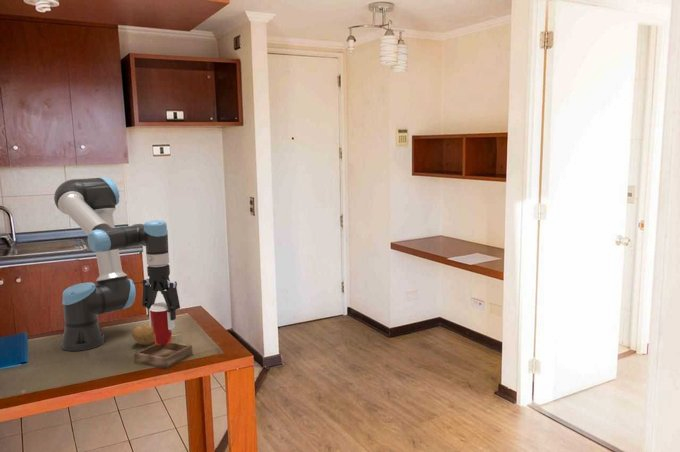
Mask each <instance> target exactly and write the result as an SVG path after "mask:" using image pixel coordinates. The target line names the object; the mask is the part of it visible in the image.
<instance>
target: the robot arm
mask: <svg viewBox="0 0 680 452" xmlns="http://www.w3.org/2000/svg"><path fill="white" fill-rule="evenodd" d="M53 199H54V204H55V206H56V208H57V210H59V211H60V212H61V213H62V214H64V215H68V216H69V218H70V219H71V220H72V221H73V222H75V224H76V225H77V226H79V228H80V229H81V230H82V231H83V232H84V233H85V234H86V235H87V245H88V247H89V249H90V250H91V251H92V252H95V256H96V261H97V268H98V274H99V276H98V277H97V278H96V284H95V283H94V282H90V281H89V282H81V283H76V284H73V285H71V286H69V287H67V288H66V289H64V291H63V292H62V301H61V304H62V306H63V307H62V310H63V317H64V332H63V334H62V339H61V349H62V350H64V351H68V352H79V351H80V352H81V351H86V350H91V349H94V348H97V347H99V346H101V345H103V344H104V343H105V335H104V333H103V330H102V329H101V326H100V325H99V318H98V316H99V315H103V314H107V313H112V312H117V311H123V310H124V309H127V308H131V307H132V306H133V304H134V302H135V300H136V294H137V292H136V285H135V283H134V281H133V279H131V278H128V274H127V273H125V272H124V271H123V267H122V261H121V256H120V255H121V254H120V250H121V249H127V248H135V247H140V246H141V247H145V254H146V255H145V257H146V265H147V267H146V271H147V277H149V278H145V279H143V280H142V281H141V283H142V287H143V288H142V301H141V303H142V304H141V305H142V307H145V308H146V311H147V317H148V320H149V323H148V324H150V327H153V324H152V316H151V311H150V308H151V305H153V304H155V303H156V298H157V296H158V292H160V294H161V295H162V297H163V299H164V301H165V302H166V304H167V307H168V309H169V311H168V312H167V318H168V330H171V329H172V330H173V329H175V328H176V323H175V322H176V319H177V317H176V311H177V310H179V309H180V308H181V305H180V299H179V293H178V288H177V286H178V282H177V281H171V280H170V277H169V276H170V274H171V269H170V268H171V267H170V265H169V263H170V254H169V236H168V235H169V231H168V225H167V222H166V221H165V220H148V221H145V222H144V224H143V223H134V224H132V225H127V226H120V227H116V226H115V221H114V216H113V215H114V212H115V211H116V209H117V208H116V206H117V205H118V204H119V202H120V191H119V188H118V186H117V184H116V183H115V181H114V180H112V179H111V178H109V177H91V178H72V179H68V180H66V181H64V182H62V183H61V184H60V185H59V186H58V187H57V188H56V190H55V191H54V196H53Z"/></svg>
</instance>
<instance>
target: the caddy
mask: <svg viewBox="0 0 680 452" xmlns="http://www.w3.org/2000/svg"><path fill="white" fill-rule="evenodd" d="M192 355H193V345H190V344H185V343H179V342H173V341H171V343H170V344H167V345H156V344H151V345H148V346H147V347H144V348H143V349H141V350H139V351H136V352H134V363H135V364H140V365H143V366H149V367H155V368H159V369H165V370H166V369H168V368H171V367H172V366H174V365H176V364H178V363H179V362H181V361H184V360H186V359H188V358H189V357H191V356H192Z"/></svg>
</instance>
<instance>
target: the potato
mask: <svg viewBox="0 0 680 452" xmlns="http://www.w3.org/2000/svg"><path fill="white" fill-rule="evenodd" d="M131 335H132V338H133V340H134V341H135V343H138V344H139V345H143V346H144V345H145V346H152V345H154V344H155V339H154V331H153V327H150V323H146V324H142V325H138V326H136V327H134V328H133V330H132V334H131Z"/></svg>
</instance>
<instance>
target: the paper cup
mask: <svg viewBox="0 0 680 452" xmlns="http://www.w3.org/2000/svg"><path fill="white" fill-rule="evenodd" d="M150 311H151V316H152V324H153V331H154V339H155V344H156V345H167V344H170V343H171V342H172V338H173V337H172V331H173V329H171V330H168V318H167V312H168V311H169V309H168V307H167V304H166V302H164V301H163V302H155V303H154V304H153V305H151V308H150Z"/></svg>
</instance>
